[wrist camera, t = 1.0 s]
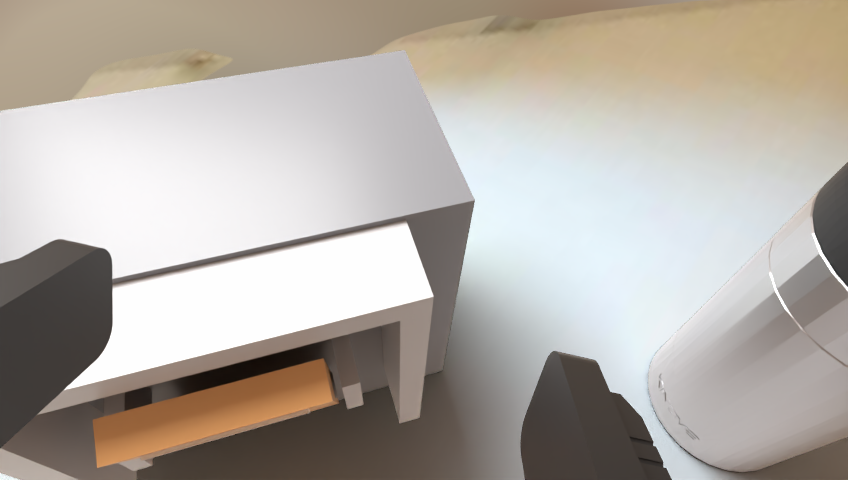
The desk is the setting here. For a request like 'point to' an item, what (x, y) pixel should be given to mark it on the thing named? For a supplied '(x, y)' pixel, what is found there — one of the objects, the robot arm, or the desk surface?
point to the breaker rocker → (213, 413)
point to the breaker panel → (242, 238)
